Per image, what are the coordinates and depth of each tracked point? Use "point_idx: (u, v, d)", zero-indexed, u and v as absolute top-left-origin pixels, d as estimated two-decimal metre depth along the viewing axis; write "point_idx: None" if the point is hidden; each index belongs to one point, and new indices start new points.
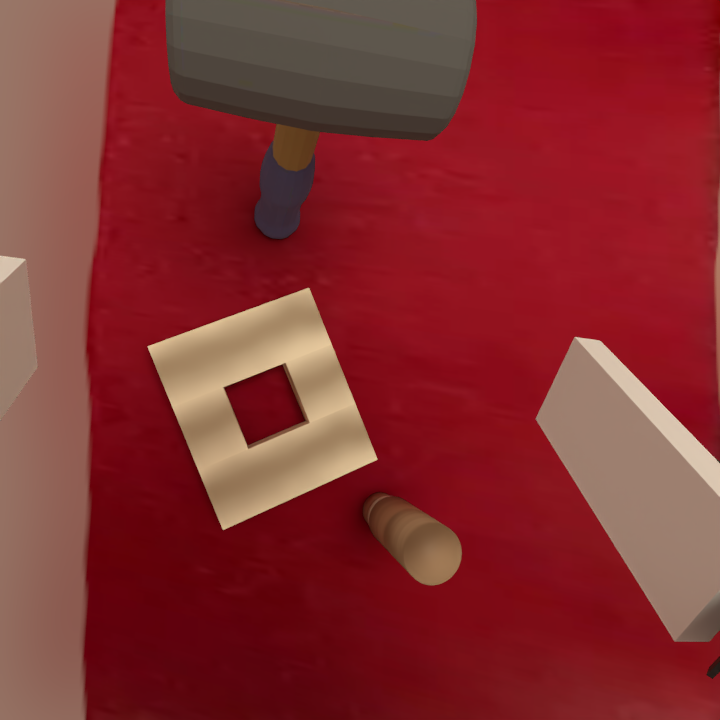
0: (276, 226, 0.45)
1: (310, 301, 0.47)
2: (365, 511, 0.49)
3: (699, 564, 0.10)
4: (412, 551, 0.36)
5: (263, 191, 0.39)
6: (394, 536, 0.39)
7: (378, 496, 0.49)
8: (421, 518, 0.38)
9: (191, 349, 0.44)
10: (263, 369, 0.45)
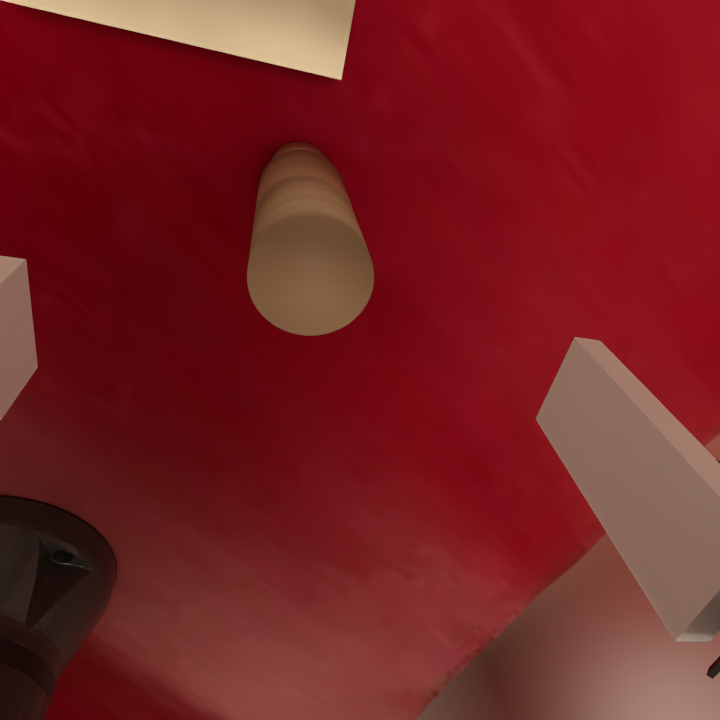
0: None
1: None
2: (274, 157, 0.27)
3: (699, 564, 0.10)
4: (274, 248, 0.16)
5: None
6: (268, 206, 0.19)
7: (307, 148, 0.27)
8: (335, 207, 0.18)
9: None
10: None
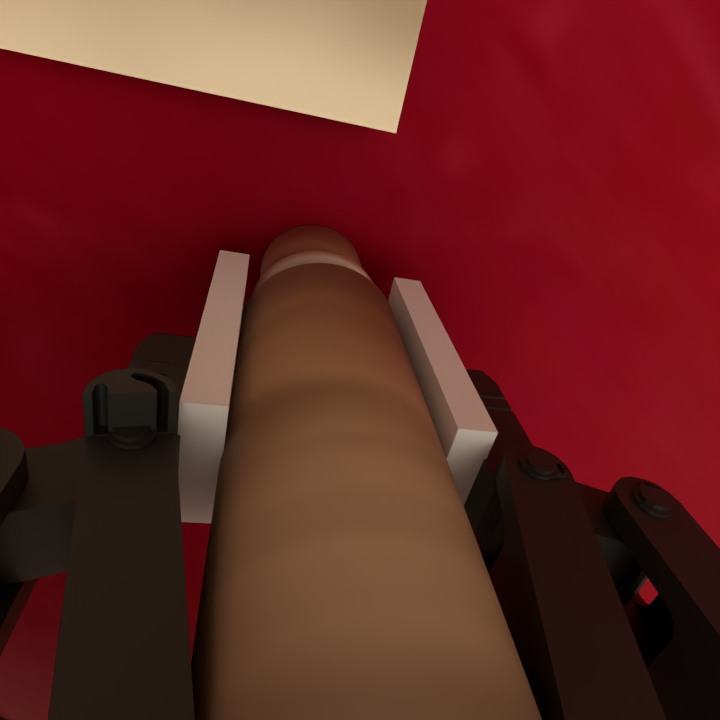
0: None
1: None
2: (269, 257, 0.16)
3: None
4: None
5: None
6: (244, 514, 0.07)
7: (327, 243, 0.15)
8: (432, 551, 0.06)
9: None
10: None
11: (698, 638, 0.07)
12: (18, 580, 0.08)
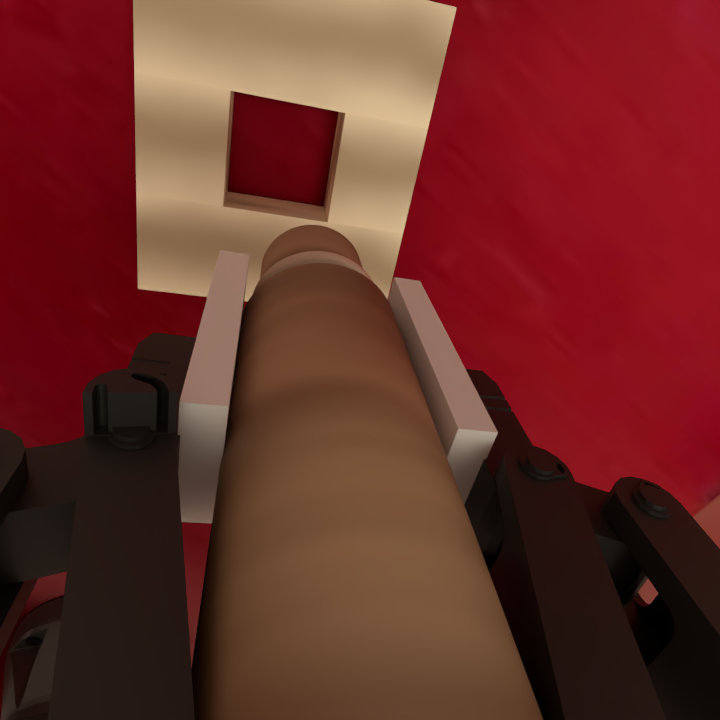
0: None
1: (443, 34, 0.25)
2: (270, 257, 0.16)
3: None
4: None
5: None
6: (245, 514, 0.07)
7: (328, 243, 0.15)
8: (434, 551, 0.06)
9: None
10: (306, 102, 0.26)
11: (698, 638, 0.07)
12: (19, 580, 0.08)
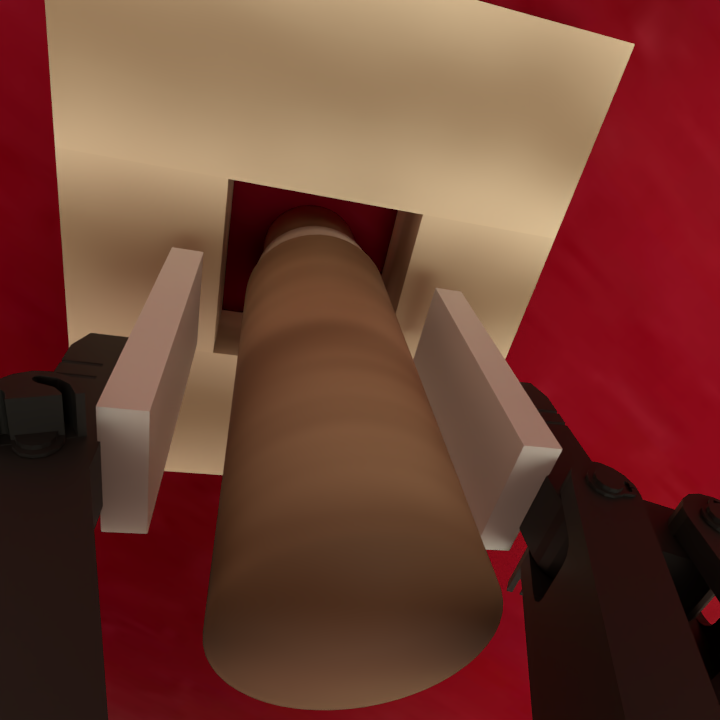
0: None
1: (604, 90, 0.14)
2: (272, 234, 0.17)
3: (491, 475, 0.10)
4: (269, 592, 0.07)
5: None
6: (256, 418, 0.09)
7: (324, 220, 0.17)
8: (406, 438, 0.08)
9: None
10: (359, 197, 0.15)
11: None
12: None
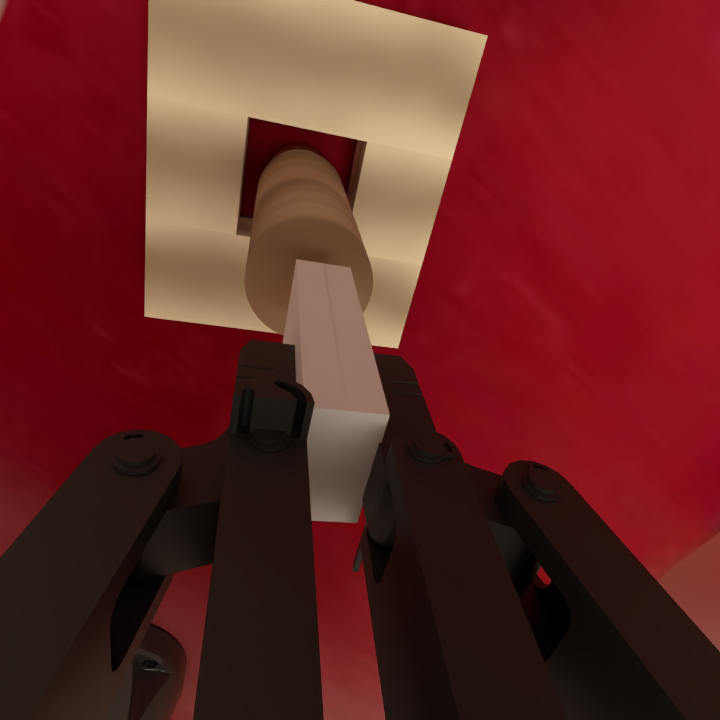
0: None
1: (472, 63, 0.24)
2: (273, 159, 0.27)
3: None
4: (272, 253, 0.16)
5: None
6: (266, 210, 0.18)
7: (307, 149, 0.27)
8: (334, 210, 0.18)
9: (227, 10, 0.22)
10: (327, 129, 0.25)
11: (593, 627, 0.07)
12: (167, 573, 0.08)
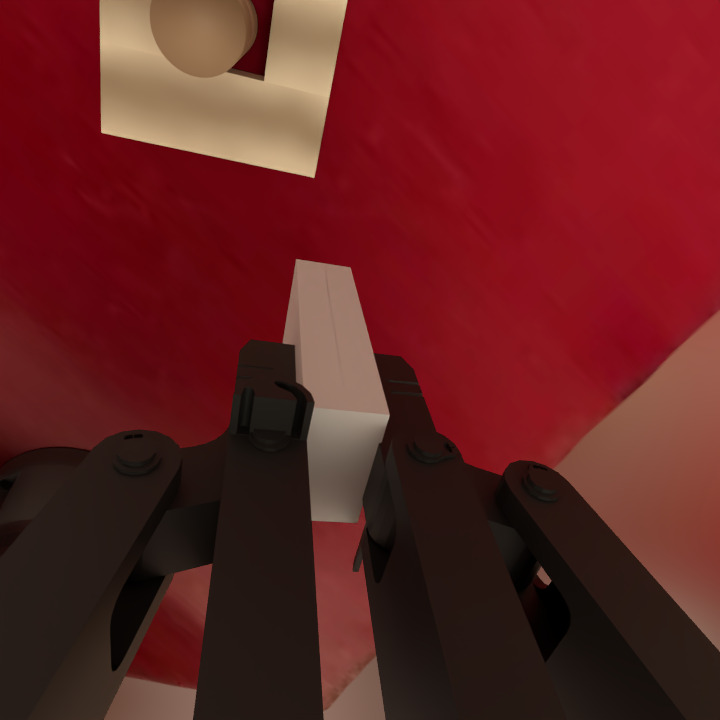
0: None
1: None
2: None
3: None
4: None
5: None
6: None
7: None
8: None
9: None
10: None
11: (593, 627, 0.07)
12: (167, 573, 0.08)
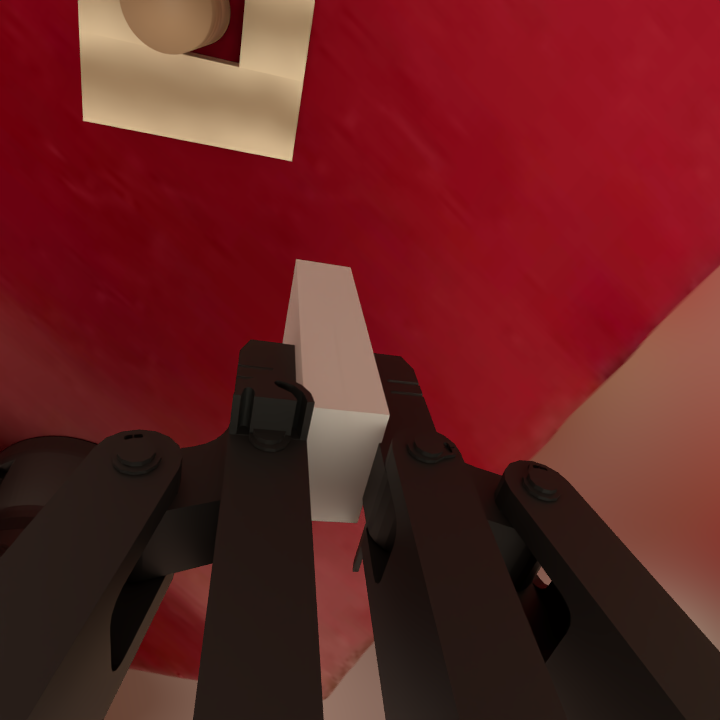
0: None
1: None
2: None
3: None
4: None
5: None
6: None
7: None
8: None
9: None
10: None
11: (593, 627, 0.07)
12: (168, 573, 0.08)
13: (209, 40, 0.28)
